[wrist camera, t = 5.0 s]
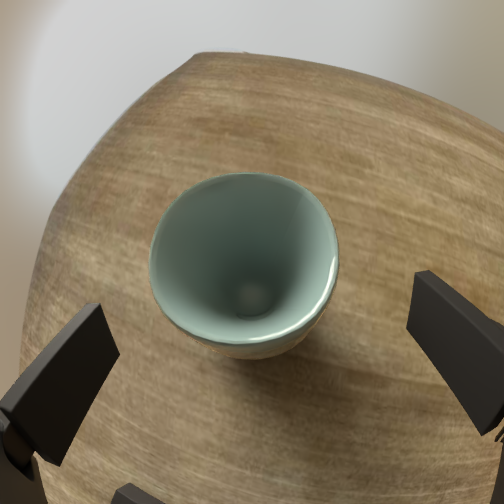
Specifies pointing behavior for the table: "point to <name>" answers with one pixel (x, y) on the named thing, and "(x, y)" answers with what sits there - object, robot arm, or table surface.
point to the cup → (244, 264)
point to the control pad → (133, 496)
